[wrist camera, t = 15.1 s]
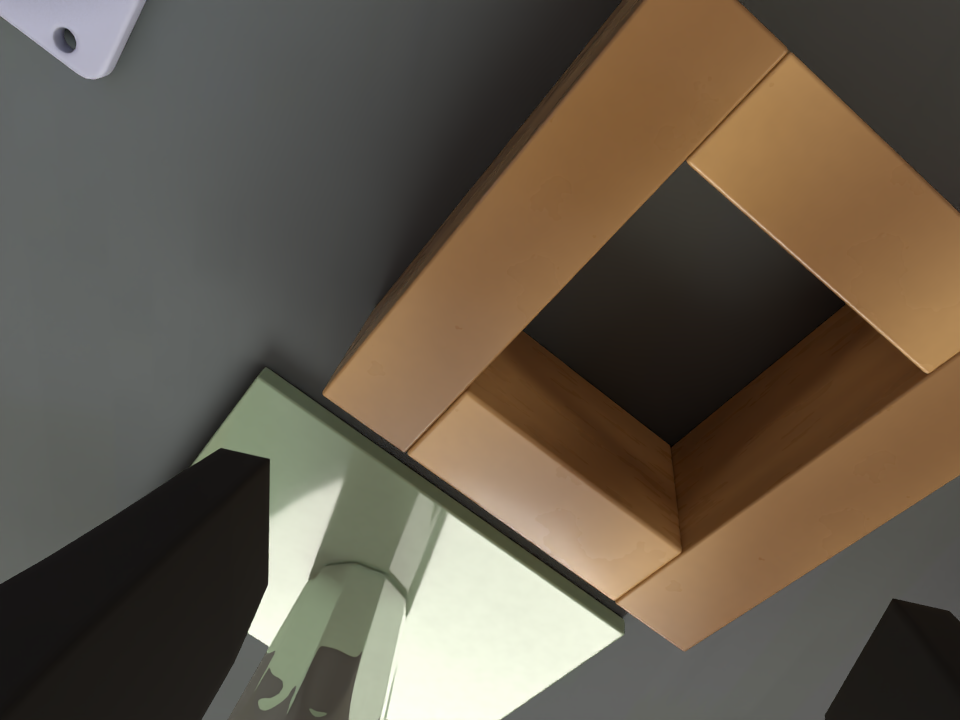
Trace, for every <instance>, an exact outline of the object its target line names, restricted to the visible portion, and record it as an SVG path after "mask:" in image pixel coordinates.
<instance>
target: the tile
mask: <svg viewBox="0 0 960 720" xmlns="http://www.w3.org/2000/svg"><path fill="white" fill-rule="evenodd" d="M220 448H224V449H228V450H233V451H237V452H242V453H246V454H251V455H255V456H260V457H264V458H268V459H270V502H269V574H268V586H267V588H266V591H265V593H264V595H263V598H262V600H261V603H260V605H259V607H258V610H257V612H256V614H255V617H254V619H253V621H252V624H251V626H250V628H249V631H248V634H250V635H251V636H253V637H254V638H256V639H258V640H259V641H261V642H262V643H264V644H266V645H267V646H270V645H271V643H272V641H273V640H274V638H275V636H276V634H277V633H278V631H279V629H280V627H281V626H282V624H283V622H284V620H285V619H286V617H287V615H288V613H289V612H290V610H291V608H292V607H293V605H294V603H295V601H296V600H297V598H298V596H299V594H300V593H301V591H302V589H303V588H304V586H305V584H306V583H307V582H308V581H309V580H310V579H311V578H312V577H313V576H314V575H315V574H316V573H317V572H318V571H319V570H320V569H321V568H322V567H323V566H327V565H337V564H347V563H357V564H360V565H362V566H365V567H367V568H370V569H373V570H375V571H378V572H380V573H383V574H386V575H387V576H388V577H389V579H390V580H391V581H392V582H393V583H394V584H395V585H396V587H397V588H398V589H399V590H400V591H401V592H402V593H403V595H404V596H405V597H406V626H405V631H404V636H403V641H402V646H401V651H400V655H399V660H398V665H397V670H396V675H395V680H394V685H393V690H392V695H391V700H390V704H389V709H388V714H387V720H501V719H503V718H504V717H506V716H507V715H509V714H510V713H512V712H513V711H514V710H516V709H517V708H519V707H520V706H522V705H523V704H525V703H526V702H527V701H529V700H530V699H532V698H533V697H535V696H536V695H538V694H539V693H540V692H542V691H543V690H545V689H546V688H548V687H549V686H551V685H552V684H554V683H555V682H556V681H558V680H559V679H561V678H562V677H564V676H565V675H567V674H568V673H569V672H571V671H572V670H574V669H575V668H577V667H578V666H580V665H581V664H582V663H584V662H585V661H587V660H588V659H590V658H591V657H593V656H594V655H596V654H597V653H598V652H600V651H601V650H603V649H604V648H606V647H607V646H609V645H610V644H611V643H613V642H614V641H616V640H617V639H619V638H620V637H622V636H623V635H624V633H625V623H624V619H623V618H621V617H620V616H618V615H617V614H616V613H614V612H613V611H611V610H610V609H609V608H607V607H606V606H604V605H603V604H601V603H600V602H599V601H597V600H596V599H594V598H593V597H592V596H590V595H589V594H587V593H586V592H584V591H583V590H582V589H580V588H579V587H577V586H576V585H575V584H573V583H572V582H570V581H569V580H567V579H566V578H565V577H563V576H562V575H560V574H559V573H558V572H556V571H555V570H553V569H552V568H550V567H549V566H548V565H546V564H545V563H543V562H542V561H541V560H539V559H538V558H536V557H535V556H533V555H532V554H531V553H529V552H528V551H526V550H525V549H524V548H522V547H521V546H519V545H518V544H516V543H515V542H514V541H512V540H511V539H509V538H508V537H507V536H505V535H504V534H502V533H501V532H499V531H498V530H497V529H495V528H494V527H492V526H491V525H490V524H488V523H487V522H485V521H484V520H482V519H481V518H480V517H478V516H477V515H475V514H474V513H473V512H471V511H470V510H468V509H467V508H465V507H464V506H463V505H461V504H460V503H458V502H457V501H456V500H454V499H453V498H451V497H450V496H448V495H447V494H446V493H444V492H443V491H441V490H440V489H439V488H437V487H436V486H434V485H433V484H431V483H430V482H429V481H427V480H426V479H424V478H423V477H422V476H420V475H419V474H417V473H416V472H415V471H413V470H412V469H410V468H409V467H407V466H406V465H405V464H403V463H402V462H400V461H399V460H398V459H396V458H395V457H393V456H392V455H390V454H389V453H388V452H386V451H385V450H383V449H382V448H381V447H379V446H378V445H376V444H375V443H373V442H372V441H371V440H369V439H368V438H366V437H365V436H364V435H362V434H361V433H359V432H358V431H356V430H355V429H354V428H352V427H351V426H349V425H348V424H347V423H345V422H344V421H342V420H341V419H339V418H338V417H337V416H335V415H334V414H332V413H331V412H330V411H328V410H327V409H325V408H324V407H322V406H321V405H320V404H318V403H317V402H315V401H314V400H313V399H311V398H310V397H308V396H307V395H305V394H304V393H303V392H301V391H300V390H298V389H297V388H296V387H294V386H293V385H291V384H290V383H288V382H287V381H286V380H284V379H283V378H281V377H280V376H279V375H277V374H276V373H274V372H273V371H271V370H270V369H269V368H267V367H265V368H264V369H263V370H262V371H261V372H260V374H259V375H258V376H257V377H256V379H255V380H254V381H253V383H252V384H251V385H250V387H249V388H248V390H247V391H246V392H245V394H244V395H243V396H242V398H241V399H240V400H239V402H238V403H237V404H236V406H235V407H234V408H233V410H232V411H231V412H230V414H229V415H228V416H227V418H226V419H225V420H224V422H223V423H222V424H221V426H220V427H219V428H218V430H217V431H216V432H215V434H214V435H213V436H212V438H211V439H210V440H209V442H208V443H207V444H206V446H205V447H204V448H203V450H202V451H201V453H200V454H199V455H198V457H197V458H196V459H195V461H194V462H193V463H192V465H194V464H196V463H197V462H199V461H200V460H202V459H204V458H205V457H207V456H209V455H210V454H212V453H213V452H215V451H217V450H218V449H220ZM192 465H191V466H192ZM191 466H190V467H191Z"/></svg>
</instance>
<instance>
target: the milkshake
mask: <svg viewBox="0 0 960 720" xmlns="http://www.w3.org/2000/svg"><path fill="white" fill-rule="evenodd" d="M405 626H406V597H405V596H404V595H403V593H402V592H401V591H400V590H399V589H398V588H397V587H396V585H395V584H394V583H393V582H392V581H391V580H390V579H389V577H388V576H387V575H386V574H383V573H380V572H378V571H375V570H373V569H370V568H367V567H365V566H362V565H360V564H357V563H347V564H337V565H327V566H323V567H322V568H321V569H320V570H319V571H318V572H317V573H316V574H315V575H314V576H313V577H312V578H311V579H310V580H309V581H308V582H307V583H306V584H305V586H304V588H303V589H302V591H301V593H300V594H299V596H298V598H297V600H296V601H295V603H294V605H293V607H292V608H291V610H290V612H289V613H288V615H287V617H286V619H285V620H284V622H283V624H282V626H281V627H280V629H279V631H278V633H277V634H276V636H275V638H274V640H273V641H272V643H271V645H270V646H269V648H268V650H267V652H266V653H265V655H264V657H263V659H262V660H261V662H260V664H259V666H258V667H257V669H256V671H255V673H254V674H253V676H252V678H251V679H250V681H249V683H248V685H247V686H246V688H245V690H244V692H243V693H242V695H241V697H240V699H239V700H238V702H237V704H236V706H235V707H234V709H233V711H232V713H231V714H230V716H229V718H228V719H227V720H386V719H387V714H388V709H389V704H390V700H391V695H392V690H393V685H394V680H395V675H396V670H397V665H398V660H399V655H400V651H401V646H402V641H403V636H404V631H405Z"/></svg>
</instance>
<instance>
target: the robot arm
mask: <svg viewBox="0 0 960 720" xmlns="http://www.w3.org/2000/svg"><path fill="white" fill-rule="evenodd" d="M145 2H146V0H0V16H1V17H3V18H4V19H5V20H7V21H8V22H9V23H11V24H12V25H13V26H15V27H16V28H17V29H19V30H20V31H21V32H23V33H24V34H25V35H27V36H28V37H29V38H31V39H32V40H33V41H35V42H36V43H37V44H39V45H40V46H41V47H43V48H44V49H45V50H46V51H48V52H49V53H50V54H52V55H53V56H54V57H56V58H57V59H58V60H60V61H61V62H62V63H64V64H65V65H66V66H68V67H69V68H70V69H72V70H73V71H74V72H76V73H77V74H79V75H80V76H82V77H84V78H86V79H98V78H101V77H104V76H107V75H109V74H110V73H111V72H112V71H113V69H114V68H115V66H116V63H117V61H118V59H119V57H120V55H121V53H122V51H123V49H124V47H125V44H126V42H127V40H128V38H129V36H130V34H131V32H132V30H133V27H134V25H135V23H136V21H137V19H138V17H139V15H140V13H141V11H142V8H143V6H144V4H145ZM65 29H69V30H70V31H71V33H72V34H73V35H74V37H75V40H76V49H75V50H74V49H72V48H71V47H70V46H69V45H68V44H67V43H66V40H65V37H64V32H65ZM269 502H270V459H268V458H264V457H260V456H255V455H251V454H246V453H242V452H237V451H233V450H228V449H224V448H220V449H218V450H217V451H215V452H213V453H212V454H210V455H209V456H207V457H205V458H204V459H202V460H200V461H199V462H197V463H196V464H194V465H192V466H191V467H189V468H188V469H186V470H185V471H183V472H182V473H180V474H178V475H177V476H175V477H174V478H172V479H171V480H169V481H168V482H166V483H165V484H163V485H161V486H160V487H158V488H157V489H155V490H154V491H152V492H151V493H149V494H148V495H146V496H144V497H143V498H141V499H140V500H138V501H137V502H135V503H134V504H132V505H130V506H129V507H127V508H126V509H124V510H123V511H121V512H120V513H118V514H116V515H115V516H113V517H112V518H110V519H108V520H107V521H105V522H104V523H102V524H100V525H99V526H97V527H96V528H94V529H92V530H91V531H89V532H87V533H86V534H84V535H83V536H81V537H79V538H78V539H76V540H75V541H73V542H71V543H70V544H68V545H66V546H65V547H63V548H62V549H60V550H58V551H57V552H55V553H54V554H52V555H50V556H49V557H47V558H45V559H44V560H42V561H40V562H39V563H37V564H35V565H33V566H32V567H30V568H28V569H26V570H24V571H23V572H21V573H19V574H17V575H16V576H14V577H12V578H10V579H9V580H7V581H5V582H3V583H2V584H0V720H201V719H202V718H203V716H204V714H205V713H206V711H207V709H208V707H209V706H210V704H211V702H212V700H213V699H214V697H215V695H216V693H217V692H218V690H219V688H220V687H221V685H222V683H223V681H224V680H225V678H226V676H227V674H228V672H229V671H230V669H231V667H232V665H233V664H234V662H235V659H236V657H237V655H238V653H239V651H240V648H241V646H242V644H243V642H244V639H245V637H246V635H247V633H248V631H249V628H250V626H251V624H252V621H253V619H254V617H255V614H256V612H257V610H258V607H259V605H260V603H261V600H262V598H263V595H264V593H265V591H266V588H267V586H268V574H269ZM825 720H960V621H959V620H958V619H957V618H956V617H955V616H954V615H953V614H952V613H951V612H950V611H947V610H942V609H938V608H933V607H929V606H924V605H920V604H916V603H911V602H907V601H902V600H898V599H892V601H891V602H890V604H889V606H888V608H887V609H886V611H885V613H884V615H883V616H882V618H881V620H880V621H879V623H878V625H877V627H876V628H875V630H874V632H873V633H872V635H871V637H870V639H869V640H868V642H867V644H866V645H865V647H864V649H863V651H862V652H861V654H860V656H859V657H858V659H857V661H856V663H855V664H854V666H853V668H852V669H851V671H850V673H849V675H848V676H847V678H846V680H845V681H844V683H843V685H842V687H841V688H840V690H839V692H838V694H837V695H836V697H835V699H834V700H833V702H832V704H831V706H830V707H829V709H828V711H827V712H826V714H825Z"/></svg>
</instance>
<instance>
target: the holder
mask: <svg viewBox="0 0 960 720" xmlns="http://www.w3.org/2000/svg"><path fill="white" fill-rule="evenodd" d="M685 160H686V161H687V163H688V165H690V166H691V167H692V168H693V169H694V170H695V171H696V172H698V173H699V174H700V175H701V176H702V177H703V178H704V179H705V180H707V181H708V182H709V183H710V184H711V185H712V186H713V187H715V188H716V189H717V190H718V191H719V192H720V193H721V194H722V195H724V196H725V197H726V198H727V199H728V200H729V201H730V202H732V203H733V204H734V205H735V206H736V207H737V208H738V209H739V210H741V211H742V212H743V213H744V214H745V215H746V216H747V217H749V218H750V219H751V220H752V221H753V222H754V223H755V224H756V225H758V226H759V227H760V228H761V229H762V230H763V231H764V232H766V233H767V234H768V235H769V236H770V237H771V238H772V239H773V240H775V241H776V242H777V243H778V244H779V245H780V246H781V247H782V248H784V249H785V250H786V251H787V252H788V253H789V254H790V255H792V256H793V257H794V258H795V259H796V260H797V261H798V262H799V263H801V264H802V265H803V266H804V267H805V268H806V269H807V270H809V271H810V272H811V273H812V274H813V275H814V276H815V277H816V278H818V279H819V280H820V281H821V282H822V283H823V284H824V285H826V286H827V287H828V288H829V289H830V290H831V291H832V292H833V293H835V294H836V295H837V296H838V297H839V298H840V299H841V300H843V301H844V302H845V303H846V305H844V306H843V307H842V308H841V309H840V310H838V311H837V312H836V313H835V314H833V315H832V316H831V317H830V318H829V319H827V320H826V321H825V322H824V323H823V324H821V325H820V326H819V327H818V328H816V329H815V330H814V331H813V332H812V333H810V334H809V335H808V336H807V337H805V338H804V339H803V340H802V341H801V342H799V343H798V344H797V345H796V346H794V347H793V348H792V349H791V350H790V351H788V352H787V353H786V354H785V355H783V356H782V357H781V358H780V359H779V360H777V361H776V362H775V363H774V364H772V365H771V366H770V367H769V368H768V369H766V370H765V371H764V372H763V373H761V374H760V375H759V376H758V377H757V378H755V379H754V380H753V381H752V382H750V383H749V384H748V385H747V386H746V387H744V388H743V389H742V390H741V391H740V392H738V393H737V394H736V395H735V396H733V397H732V398H731V399H730V400H729V401H727V402H726V403H725V404H724V405H722V406H721V407H720V408H719V409H718V410H716V411H715V412H714V413H713V414H711V415H710V416H709V417H708V418H707V419H705V420H704V421H703V422H702V423H700V424H699V425H698V426H697V427H696V428H694V429H693V430H692V431H691V432H689V433H688V434H687V435H686V436H685V437H683V438H682V439H681V440H680V441H678V442H677V443H676V444H675V445H674V446H672V447H670V445H669V444H667V443H666V442H665V441H663V440H662V439H661V438H660V437H658V436H657V435H656V434H654V433H653V432H652V431H651V430H649V429H648V428H647V427H645V426H644V425H643V424H642V423H640V422H639V421H638V420H636V419H635V418H634V417H633V416H631V415H630V414H629V413H627V412H626V411H625V410H624V409H622V408H621V407H620V406H618V405H617V404H616V403H615V402H613V401H612V400H611V399H609V398H608V397H607V396H606V395H604V394H603V393H602V392H600V391H599V390H598V389H597V388H595V387H594V386H593V385H591V384H590V383H589V382H588V381H586V380H585V379H584V378H582V377H581V376H580V375H579V374H577V373H576V372H575V371H574V370H572V369H571V368H570V367H568V366H567V365H566V364H565V363H563V362H562V361H561V360H559V359H558V358H557V357H556V356H554V355H553V354H552V353H550V352H549V351H548V350H547V349H545V348H544V347H543V346H541V345H540V344H539V343H538V342H536V341H535V340H534V339H532V338H531V337H530V336H529V335H527V334H526V333H525V332H523V331H522V330H523V329H524V328H525V327H526V326H527V325H528V324H529V323H530V322H531V321H532V320H533V319H534V318H535V317H536V316H537V315H538V314H539V313H540V311H541V310H542V309H543V308H544V307H545V306H546V305H547V304H548V303H549V302H550V301H551V300H552V299H553V298H554V297H555V296H556V295H557V294H558V293H559V292H560V291H561V289H562V288H563V287H564V286H565V285H566V284H567V283H568V282H569V281H570V280H571V279H572V278H573V277H574V276H575V275H576V274H577V273H578V272H579V271H580V270H581V269H582V268H583V266H584V265H585V264H586V263H587V262H588V261H589V260H590V259H591V258H592V257H593V256H594V255H595V254H596V253H597V252H598V251H599V250H600V249H601V248H602V247H603V246H604V244H605V243H606V242H607V241H608V240H609V239H610V238H611V237H612V236H613V235H614V234H615V233H616V232H617V231H618V230H619V229H620V228H621V227H622V226H623V225H624V224H625V223H626V221H627V220H628V219H629V218H630V217H631V216H632V215H633V214H634V213H635V212H636V211H637V210H638V209H639V208H640V207H641V206H642V205H643V204H644V203H645V202H646V201H647V199H648V198H649V197H650V196H651V195H652V194H653V193H654V192H655V191H656V190H657V189H658V188H659V187H660V186H661V185H662V184H663V183H664V182H665V181H666V180H667V179H668V178H669V176H670V175H671V174H672V173H673V172H674V171H675V170H676V169H677V168H678V167H679V166H680V165H681V164H682V163H683V162H684V161H685ZM322 394H323V395H324V396H325V397H326V398H328V399H329V400H330V401H332V402H333V403H335V404H336V405H337V406H339V407H340V408H342V409H343V410H344V411H346V412H347V413H349V414H350V415H352V416H353V417H354V418H356V419H357V420H359V421H360V422H361V423H363V424H364V425H366V426H367V427H368V428H370V429H371V430H373V431H374V432H375V433H377V434H378V435H380V436H381V437H383V438H384V439H385V440H387V441H388V442H390V443H391V444H392V445H394V446H395V447H397V448H398V449H399V450H401V451H402V452H406V451H408V452H407V453H408V455H409V456H410V457H411V458H413V459H414V460H416V461H417V462H418V463H420V464H421V465H423V466H424V467H425V468H427V469H428V470H430V471H431V472H433V473H434V474H435V475H437V476H438V477H440V478H441V479H442V480H444V481H445V482H447V483H448V484H449V485H451V486H452V487H454V488H455V489H456V490H458V491H459V492H461V493H462V494H463V495H465V496H466V497H468V498H469V499H471V500H472V501H473V502H475V503H476V504H478V505H479V506H480V507H482V508H483V509H485V510H486V511H487V512H489V513H490V514H492V515H493V516H494V517H496V518H497V519H499V520H500V521H502V522H503V523H504V524H506V525H507V526H509V527H510V528H511V529H513V530H514V531H516V532H517V533H518V534H520V535H521V536H523V537H524V538H525V539H527V540H528V541H530V542H531V543H533V544H534V545H535V546H537V547H538V548H540V549H541V550H542V551H544V552H545V553H547V554H548V555H549V556H551V557H552V558H554V559H555V560H556V561H558V562H559V563H561V564H562V565H564V566H565V567H566V568H568V569H569V570H571V571H572V572H573V573H575V574H576V575H578V576H579V577H580V578H582V579H583V580H585V581H586V582H587V583H589V584H590V585H592V586H593V587H594V588H596V589H597V590H599V591H600V592H602V593H603V594H604V595H606V596H607V597H609V598H610V599H611V600H615V602H616V604H617V605H619V606H620V607H622V608H623V609H624V610H626V611H627V612H629V613H630V614H631V615H633V616H634V617H636V618H637V619H639V620H640V621H641V622H643V623H644V624H646V625H647V626H648V627H650V628H651V629H653V630H654V631H655V632H657V633H658V634H660V635H661V636H662V637H664V638H665V639H667V640H668V641H670V642H671V643H672V644H674V645H675V646H677V647H678V648H679V649H681V650H682V651H686V650H688V649H689V648H691V647H693V646H694V645H696V644H697V643H699V642H700V641H702V640H703V639H705V638H707V637H708V636H710V635H711V634H713V633H714V632H716V631H718V630H719V629H721V628H722V627H724V626H725V625H727V624H728V623H730V622H732V621H733V620H735V619H736V618H738V617H739V616H741V615H742V614H744V613H746V612H747V611H749V610H750V609H752V608H753V607H755V606H756V605H758V604H760V603H761V602H763V601H764V600H766V599H767V598H769V597H770V596H772V595H774V594H775V593H777V592H778V591H780V590H781V589H783V588H784V587H786V586H788V585H789V584H791V583H792V582H794V581H795V580H797V579H798V578H800V577H802V576H803V575H805V574H806V573H808V572H809V571H811V570H813V569H814V568H816V567H817V566H819V565H820V564H822V563H823V562H825V561H827V560H828V559H830V558H831V557H833V556H834V555H836V554H837V553H839V552H841V551H842V550H844V549H845V548H847V547H848V546H850V545H851V544H853V543H855V542H856V541H858V540H859V539H861V538H862V537H864V536H865V535H867V534H869V533H870V532H872V531H873V530H875V529H876V528H878V527H879V526H881V525H883V524H884V523H886V522H887V521H889V520H890V519H892V518H893V517H895V516H897V515H898V514H900V513H901V512H903V511H904V510H906V509H908V508H909V507H911V506H912V505H914V504H915V503H917V502H918V501H920V500H922V499H923V498H925V497H926V496H928V495H929V494H931V493H932V492H934V491H936V490H937V489H939V488H940V487H942V486H943V485H945V484H946V483H948V482H950V481H951V480H953V479H954V478H956V477H957V476H959V475H960V213H959V212H958V211H957V210H956V209H955V208H954V207H953V206H952V205H951V204H950V203H949V202H948V201H947V200H946V199H945V198H944V197H943V196H942V195H941V194H940V193H939V192H938V191H936V190H935V189H934V188H933V187H932V186H931V185H930V184H929V183H928V182H927V181H926V180H925V179H924V178H923V177H922V176H921V175H920V174H919V173H918V172H917V171H916V170H915V169H913V168H912V167H911V166H910V165H909V164H908V163H907V162H906V161H905V160H904V159H903V158H902V157H901V156H900V155H899V154H898V153H897V152H896V151H895V150H894V149H893V148H892V147H891V146H889V145H888V144H887V143H886V142H885V141H884V140H883V139H882V138H881V137H880V136H879V135H878V134H877V133H876V132H875V131H874V130H873V129H872V128H871V127H870V126H869V125H868V124H866V123H865V122H864V121H863V120H862V119H861V118H860V117H859V116H858V115H857V114H856V113H855V112H854V111H853V110H852V109H851V108H850V107H849V106H848V105H847V104H846V103H845V102H844V101H842V100H841V99H840V98H839V97H838V96H837V95H836V94H835V93H834V92H833V91H832V90H831V89H830V88H829V87H828V86H827V85H826V84H825V83H824V82H823V81H822V80H821V79H819V78H818V77H817V76H816V75H815V74H814V73H813V72H812V71H811V70H810V69H809V68H808V67H807V66H806V65H805V64H804V63H803V62H802V61H801V60H800V59H799V58H798V57H796V56H795V55H794V54H793V53H792V52H791V51H789V50H788V49H787V47H786V46H785V45H784V44H783V43H782V42H781V41H780V40H779V39H778V38H777V37H776V36H775V35H774V34H772V33H771V32H770V31H769V30H768V29H767V28H766V27H765V26H764V25H763V24H762V23H761V22H760V21H759V20H758V19H757V18H756V17H755V16H754V15H753V14H752V13H751V12H749V11H748V10H747V9H746V8H745V7H744V6H743V5H742V4H741V3H740V2H739V1H738V0H623V1H622V2H621V3H620V4H619V6H618V7H617V8H616V9H615V10H614V12H613V13H612V14H611V15H610V17H609V18H608V19H607V20H606V22H605V23H604V24H603V25H602V27H601V28H600V29H599V30H598V32H597V33H596V34H595V35H594V37H593V38H592V39H591V40H590V42H589V43H588V44H587V45H586V46H585V48H584V49H583V50H582V51H581V53H580V54H579V55H578V56H577V58H576V59H575V60H574V61H573V63H572V64H571V65H570V66H569V68H568V69H567V70H566V71H565V73H564V74H563V75H562V76H561V78H560V79H559V80H558V81H557V83H556V84H555V85H554V86H553V87H552V89H551V90H550V91H549V92H548V94H547V95H546V96H545V97H544V99H543V100H542V101H541V102H540V104H539V105H538V106H537V107H536V109H535V110H534V111H533V112H532V114H531V115H530V116H529V117H528V119H527V120H526V121H525V122H524V123H523V125H522V126H521V127H520V128H519V130H518V131H517V132H516V133H515V135H514V136H513V137H512V138H511V140H510V141H509V142H508V143H507V145H506V146H505V147H504V148H503V150H502V151H501V152H500V153H499V155H498V156H497V157H496V158H495V160H494V161H493V162H492V163H491V164H490V166H489V167H488V168H487V169H486V171H485V172H484V173H483V174H482V176H481V177H480V178H479V179H478V181H477V182H476V183H475V184H474V186H473V187H472V188H471V189H470V191H469V192H468V193H467V194H466V196H465V197H464V198H463V199H462V200H461V202H460V203H459V204H458V205H457V207H456V208H455V209H454V210H453V212H452V213H451V214H450V215H449V217H448V218H447V219H446V220H445V222H444V223H443V224H442V225H441V227H440V228H439V229H438V230H437V232H436V233H435V234H434V235H433V236H432V238H431V239H430V240H429V241H428V243H427V244H426V245H425V246H424V248H423V249H422V250H421V251H420V253H419V254H418V255H417V256H416V258H415V259H414V260H413V261H412V263H411V264H410V265H409V266H408V268H407V269H406V270H405V271H404V273H403V274H402V275H401V276H400V277H399V279H398V280H397V281H396V282H395V284H394V285H393V286H392V287H391V289H390V290H389V291H388V292H387V294H386V295H385V296H384V297H383V299H382V300H381V301H380V302H379V304H378V305H377V306H376V307H375V309H374V310H373V311H372V313H371V314H370V316H369V317H368V319H367V321H366V322H365V324H364V325H363V327H362V329H361V330H360V332H359V333H358V335H357V337H356V338H355V340H354V342H353V343H352V345H351V346H350V348H349V350H348V351H347V353H346V354H345V356H344V358H343V359H342V361H341V362H340V364H339V366H338V367H337V369H336V370H335V372H334V374H333V375H332V377H331V379H330V380H329V382H328V383H327V385H326V387H325V388H324V390H323V393H322Z"/></svg>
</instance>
